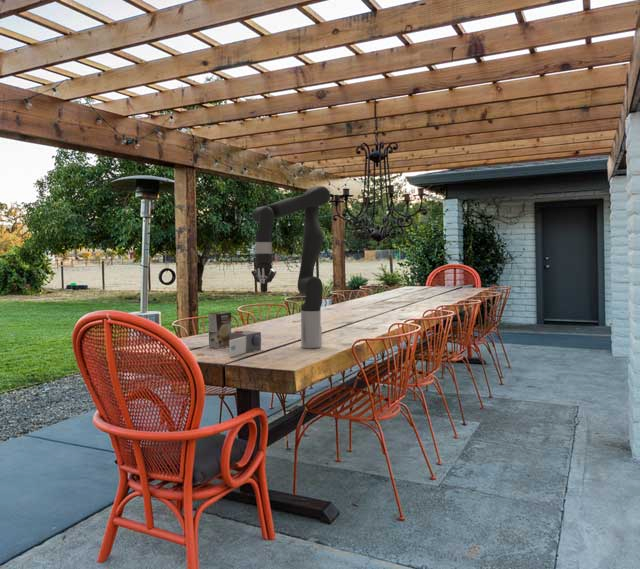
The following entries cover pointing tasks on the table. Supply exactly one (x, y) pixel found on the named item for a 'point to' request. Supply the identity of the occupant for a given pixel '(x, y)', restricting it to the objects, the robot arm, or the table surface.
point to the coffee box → (219, 329)
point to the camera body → (249, 339)
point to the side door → (238, 346)
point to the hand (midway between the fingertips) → (264, 292)
